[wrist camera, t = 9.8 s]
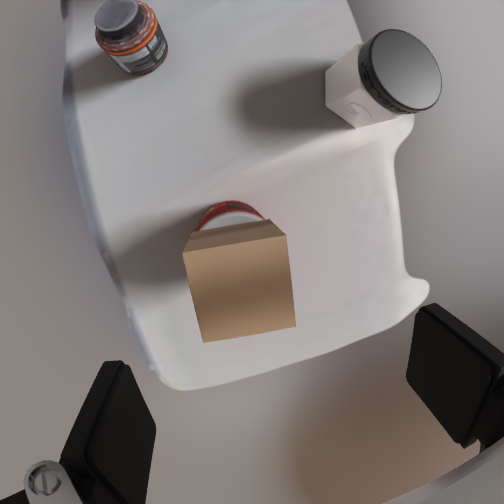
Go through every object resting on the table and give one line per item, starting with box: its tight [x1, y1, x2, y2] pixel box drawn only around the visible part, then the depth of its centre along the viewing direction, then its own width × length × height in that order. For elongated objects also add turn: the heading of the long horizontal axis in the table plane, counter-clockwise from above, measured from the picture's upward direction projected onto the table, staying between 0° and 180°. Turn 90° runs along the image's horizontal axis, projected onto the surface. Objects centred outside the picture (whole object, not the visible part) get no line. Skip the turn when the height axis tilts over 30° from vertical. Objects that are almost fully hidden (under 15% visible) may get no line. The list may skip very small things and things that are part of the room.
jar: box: [325, 29, 442, 128], centre depth 26 cm, size 9×8×12 cm
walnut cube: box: [182, 219, 296, 343], centre depth 21 cm, size 6×6×6 cm
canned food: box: [196, 200, 265, 231], centre depth 29 cm, size 8×8×11 cm
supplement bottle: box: [95, 0, 168, 75], centre depth 22 cm, size 6×6×11 cm
